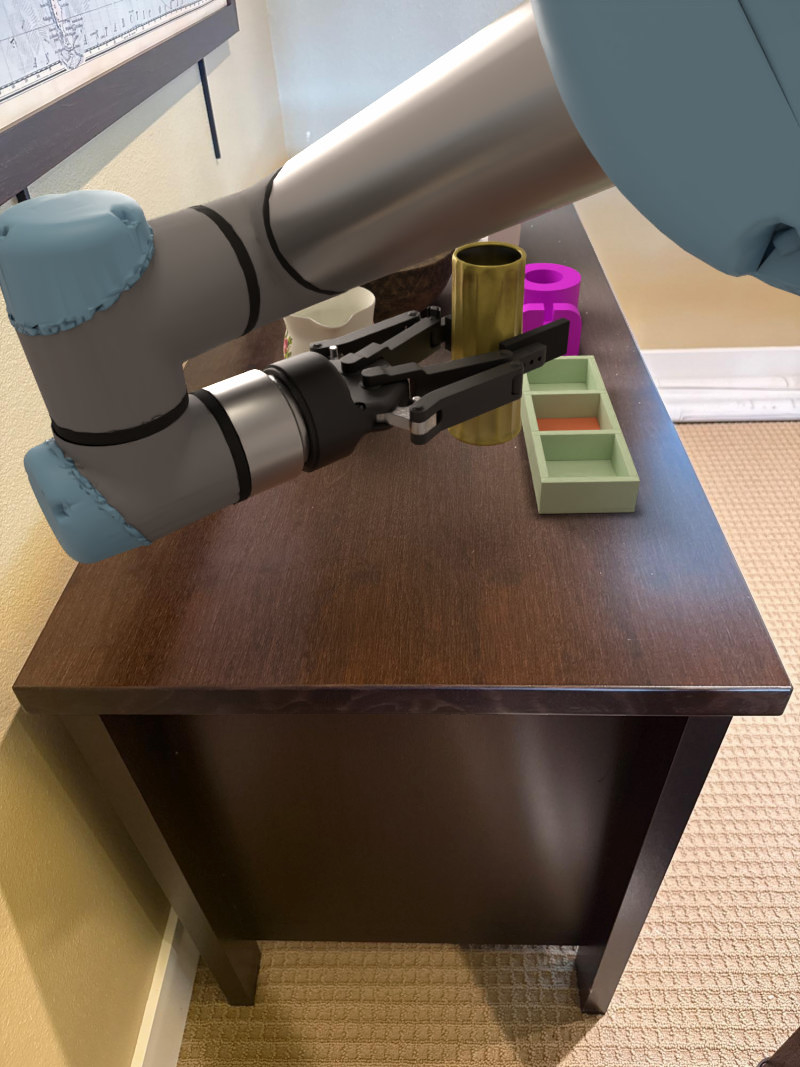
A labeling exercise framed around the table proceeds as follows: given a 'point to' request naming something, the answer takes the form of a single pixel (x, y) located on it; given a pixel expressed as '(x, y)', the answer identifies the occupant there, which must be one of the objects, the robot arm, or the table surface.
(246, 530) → the table surface
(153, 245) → the robot arm
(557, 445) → the tray
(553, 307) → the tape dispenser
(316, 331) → the pitcher
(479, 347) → the vase
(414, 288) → the bowl
